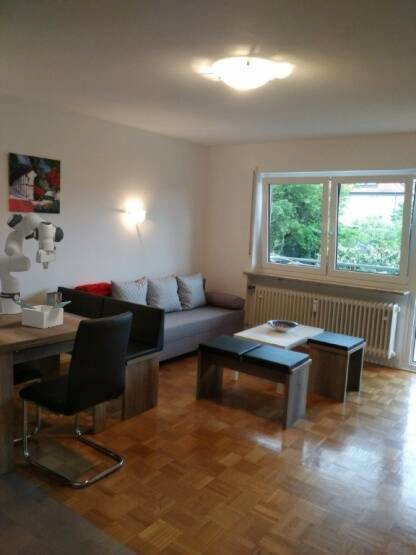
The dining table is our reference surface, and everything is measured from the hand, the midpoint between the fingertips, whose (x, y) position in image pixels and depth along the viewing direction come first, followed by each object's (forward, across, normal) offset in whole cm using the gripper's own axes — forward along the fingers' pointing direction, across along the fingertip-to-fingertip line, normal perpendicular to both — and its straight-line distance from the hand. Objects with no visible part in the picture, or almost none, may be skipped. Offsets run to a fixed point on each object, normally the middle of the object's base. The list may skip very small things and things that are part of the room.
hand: (45, 269), depth 284 cm
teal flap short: (+22, -13, -13) cm, 29 cm away
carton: (+33, -12, -4) cm, 35 cm away
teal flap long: (+22, -18, 0) cm, 29 cm away
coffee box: (+33, +13, 0) cm, 36 cm away
